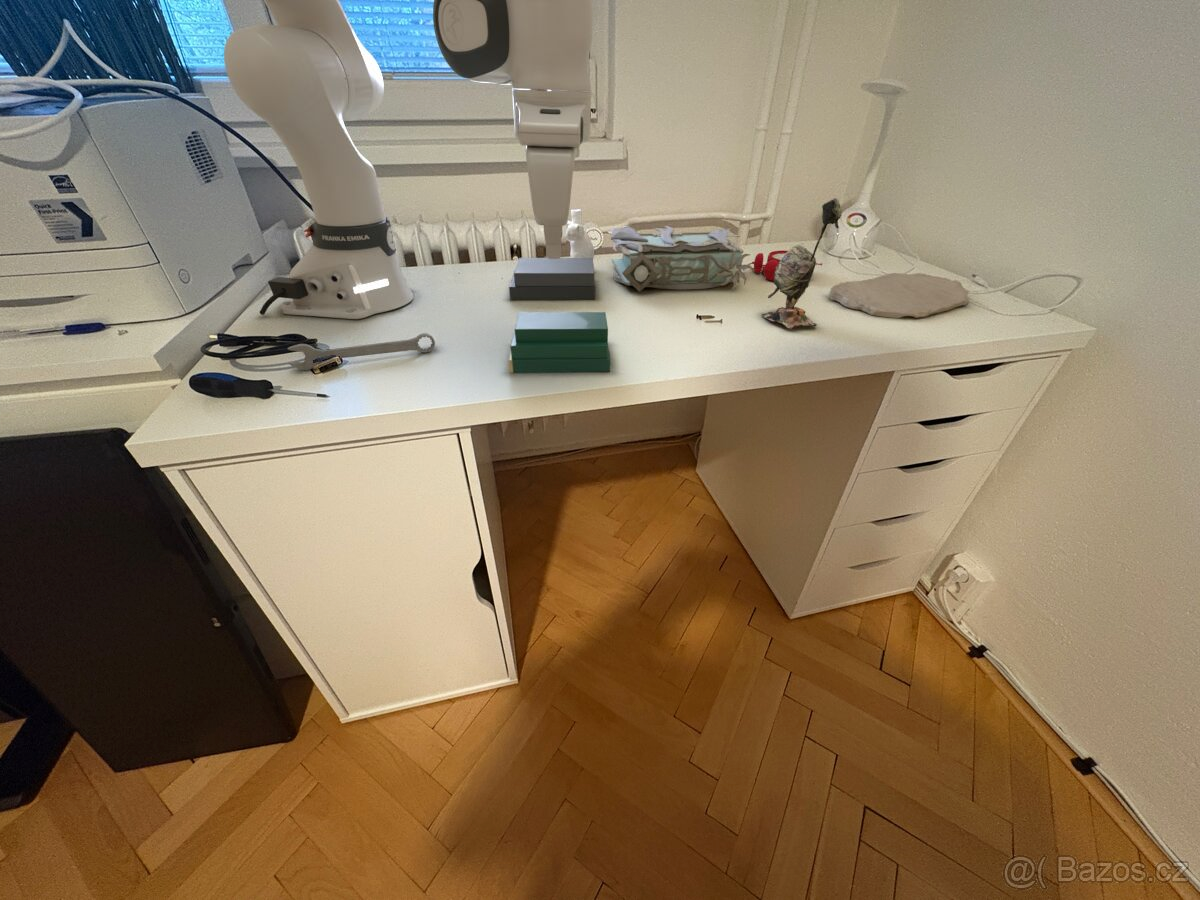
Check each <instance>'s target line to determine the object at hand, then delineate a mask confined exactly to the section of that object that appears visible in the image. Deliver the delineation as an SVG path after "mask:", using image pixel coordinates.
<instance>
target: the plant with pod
mask: <svg viewBox="0 0 1200 900" xmlns="http://www.w3.org/2000/svg"><path fill="white" fill-rule="evenodd" d="M821 208H822V215H821V217H822V219H821V221H822V224H823V225H822V228H821V231H820V236H819V238H818V239H817V242H816V244H815V247H814V249H813V252H811V251H810V250H808V249H807V248H805V246H803V245H805V242H804V243H803V242H802V243H801V242H800V244H796V245H794V246H792V247H791V248H790V249H789V250H786V251H787V253H786V254H785V255H784V257H783V258H782V259H781V261H780V262H779V264H778V266H777V267H776V271H775V275H774V281H773V284H774V285H775V286H776V287H775V289H773V292H771V293H769V294H768V296H767V299H771V298H772V297H774V296H775V295H776V294H777V293H778V292H780V293H782V294H784V296H786V298H785V299H786V300H785V307H783V306H781V307H778V308H777V309H776V311H775V312H773V311H769V312H767V313H761V316H762V317H764V318H765V319H766V320H768V321H770V322H777V323H778V324H783V325H784V326H785V327H786V328H787V329H794V328H797V327H800V326H806V327H808V326H809V327H817V326H818V323H815V322H813V321H812V320H811V319H810V317H809V316H807V315H806V310H805V309H803V308H801V307H797V306H796V305H797V302H799V299H800V298H801V297H802V296H803V295H804V294H805V292H806V290H807V289H808V288H809V286H810V283H811V278H812V277H813V274H814V272H815V268H816V263H817V260H816V257H815V256H816V252H817V249H818V247H819V244H820V242H821V240H822V238H823V235H824V234H825V232H826V230H827V226H828V225H830V224H831V225H834V226H835V228H836V229H839V228H840V226H839V220H840V219H841V217H843V216H842V214H843V211H842V210H841V204H840V201H839V199H838V198H835V197H834V198H833V199H831V200H828V201H827V202H825V203H823V204H822V206H821Z"/></svg>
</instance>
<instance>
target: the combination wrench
mask: <svg viewBox="0 0 1200 900" xmlns="http://www.w3.org/2000/svg"><path fill="white" fill-rule="evenodd" d="M422 338H428V339H429V340H430V342H431V344H430V346H428V347H427V348H423V347H420V345H419V342H420V340H422ZM435 346H436V341H435V339H434V337H433V335H431V334H429V333H426V332H422V333H420V334H418V335H416V337H412V338H408V339H404V340H403V339H402V340H396V341H395V340H394V341H386V342H378V343H371V344H361V345H353V346H345V347H336V348H328V349H320V348H315V347H313V345H310V344H308V343H298V344H294V345H291V346H289V347H287V350H288V351H293V352H300V353H303V354H304V357H305V358H304V360H303V361H288V362H287V365H289V366H292V367H294V368H295V369H299V370H301V371H310V370H312V369H314V368H315V367H316V366H317V365H318V364H320V363H321V364H322V363H323V362H324V361H321V362H316V363H312V361H313V360H315V359H317V358H321V357H325V356H330V355H336V356H340V358H339V359H347V358H356V357H363V356H364V357H365V356H374V355H381V354H392V353H399V352H408V351H418V352H421V353H430V352H432V350H434V349H435Z"/></svg>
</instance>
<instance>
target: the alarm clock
mask: <svg viewBox="0 0 1200 900" xmlns="http://www.w3.org/2000/svg"><path fill="white" fill-rule="evenodd" d="M787 251H788V250H784V249H783V250H774V251H771V252H769V253H768V255H767V260H766V263H765V264H764V253H763V252H758V253H757V254H755V258H754V261H751V262H750V263H747V265H750V266H751V265H753V267H752V269H753V272H755V273H756V274H761V272H762V274H763V276H764V278H765V279H766V280H768V281H773V282H774V275H775V271H776V267H777V266H778V264H779V262H780V261H781V259H782V258H783V257H784V255H785V254H786V253H787ZM816 265H817V266H823V263H822V262H821V263H817V262H816ZM816 265H815V266H816Z"/></svg>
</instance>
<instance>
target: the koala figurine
mask: <svg viewBox="0 0 1200 900" xmlns="http://www.w3.org/2000/svg"><path fill="white" fill-rule="evenodd" d="M570 216H571V220H568V221H567V224H566V225H567V228H566V231H565V233H566V234H565V235H564V239H565V241H567V242H569V246H570V252H569V255H570V258H593V259H594V258H595V246H594V244H593V242H592V239H591V236H590V235H589V233H588V232H587V231H586V230H585V228H584V226H583V225H582V209H581V208H580V209H574V208H572V209H571V210H570Z"/></svg>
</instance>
